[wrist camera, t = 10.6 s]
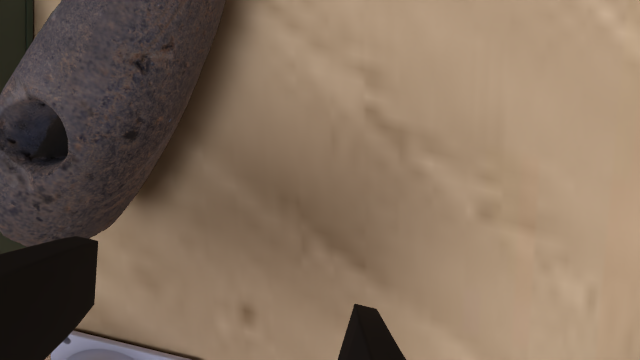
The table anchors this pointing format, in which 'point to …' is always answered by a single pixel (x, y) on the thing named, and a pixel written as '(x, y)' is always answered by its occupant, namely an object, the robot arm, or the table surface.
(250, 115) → the table surface
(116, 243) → the table surface
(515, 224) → the table surface
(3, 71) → the dish
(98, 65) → the perforated stone tool
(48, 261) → the robot arm
